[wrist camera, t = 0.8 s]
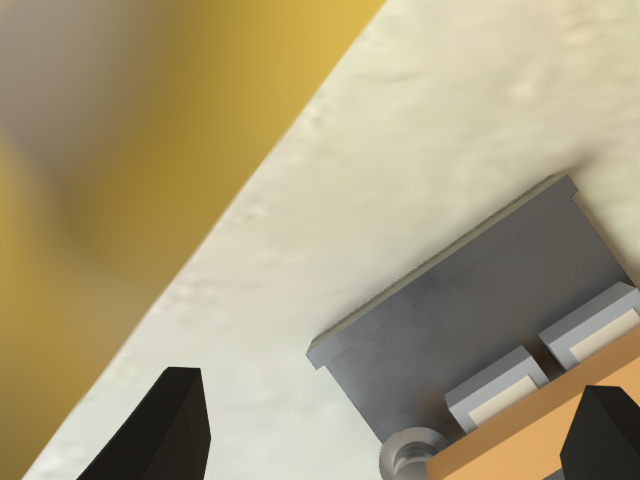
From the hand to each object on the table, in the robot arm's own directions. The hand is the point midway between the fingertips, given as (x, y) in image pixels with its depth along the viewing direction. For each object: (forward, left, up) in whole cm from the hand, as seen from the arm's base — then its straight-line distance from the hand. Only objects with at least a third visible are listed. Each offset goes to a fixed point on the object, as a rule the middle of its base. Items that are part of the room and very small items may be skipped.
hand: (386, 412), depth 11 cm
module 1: (-10, -1, -20) cm, 22 cm away
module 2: (-10, -7, -20) cm, 23 cm away
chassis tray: (-8, -2, -21) cm, 23 cm away
